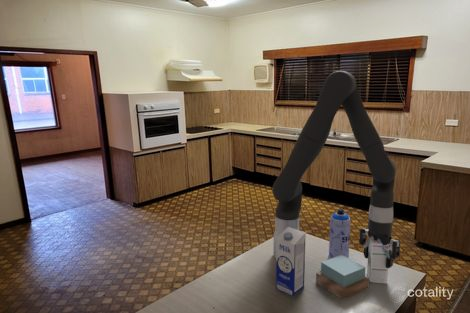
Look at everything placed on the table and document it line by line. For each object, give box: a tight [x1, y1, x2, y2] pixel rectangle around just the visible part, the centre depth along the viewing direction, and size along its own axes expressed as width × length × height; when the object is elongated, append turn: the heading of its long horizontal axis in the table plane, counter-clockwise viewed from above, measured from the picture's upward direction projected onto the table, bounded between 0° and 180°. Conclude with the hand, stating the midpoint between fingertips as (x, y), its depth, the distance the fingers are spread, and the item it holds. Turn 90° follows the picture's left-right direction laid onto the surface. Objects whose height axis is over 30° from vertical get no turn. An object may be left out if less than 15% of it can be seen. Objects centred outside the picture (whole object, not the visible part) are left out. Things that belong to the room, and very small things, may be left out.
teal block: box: [320, 255, 367, 287], centre depth 111 cm, size 10×10×4 cm
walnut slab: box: [315, 270, 370, 300], centre depth 112 cm, size 12×12×4 cm
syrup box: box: [366, 237, 389, 285], centre depth 114 cm, size 6×6×14 cm
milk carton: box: [275, 227, 307, 297], centre depth 109 cm, size 7×7×20 cm
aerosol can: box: [327, 208, 352, 260], centre depth 129 cm, size 8×8×20 cm
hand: (377, 262), depth 115 cm, fingers closed on syrup box, 8 cm apart
